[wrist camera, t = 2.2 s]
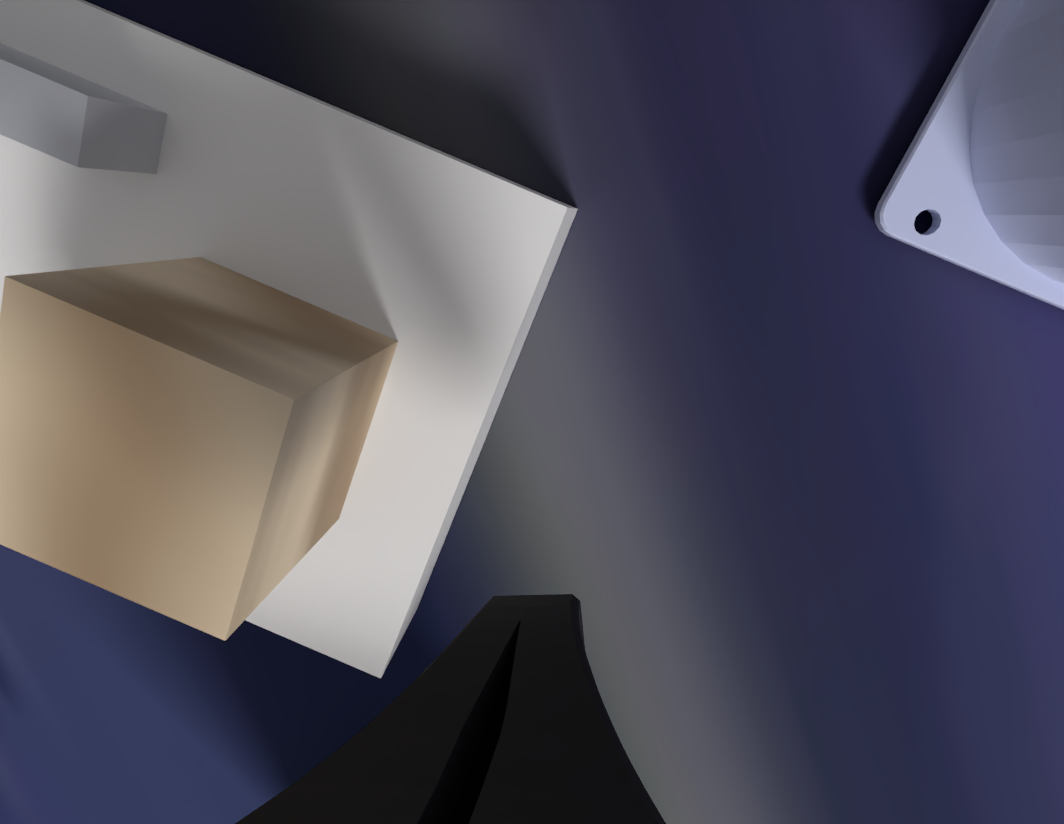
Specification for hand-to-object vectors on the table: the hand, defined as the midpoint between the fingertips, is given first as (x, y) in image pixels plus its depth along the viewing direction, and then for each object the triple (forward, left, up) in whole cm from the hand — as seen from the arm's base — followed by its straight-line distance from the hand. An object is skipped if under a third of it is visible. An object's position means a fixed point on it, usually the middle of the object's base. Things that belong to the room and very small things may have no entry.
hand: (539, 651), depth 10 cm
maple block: (+7, 0, -5) cm, 8 cm away
